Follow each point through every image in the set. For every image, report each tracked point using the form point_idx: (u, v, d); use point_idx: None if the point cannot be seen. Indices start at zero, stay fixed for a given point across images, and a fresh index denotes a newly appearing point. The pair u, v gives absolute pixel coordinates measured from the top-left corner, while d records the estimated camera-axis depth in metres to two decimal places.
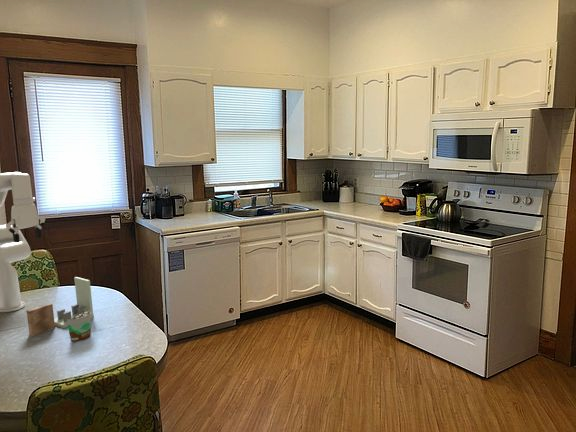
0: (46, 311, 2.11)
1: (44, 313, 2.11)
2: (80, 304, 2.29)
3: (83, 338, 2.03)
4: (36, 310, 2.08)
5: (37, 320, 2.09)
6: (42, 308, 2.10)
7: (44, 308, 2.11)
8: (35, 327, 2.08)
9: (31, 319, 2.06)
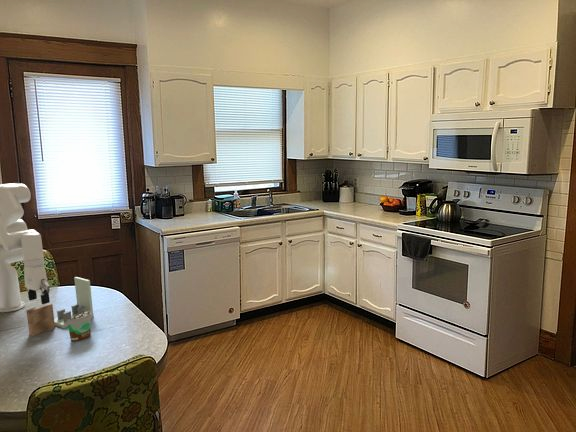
0: (46, 311, 2.11)
1: (44, 313, 2.11)
2: (80, 304, 2.29)
3: (83, 338, 2.03)
4: (36, 310, 2.08)
5: (37, 320, 2.09)
6: (42, 308, 2.10)
7: (44, 308, 2.11)
8: (35, 327, 2.08)
9: (31, 319, 2.06)
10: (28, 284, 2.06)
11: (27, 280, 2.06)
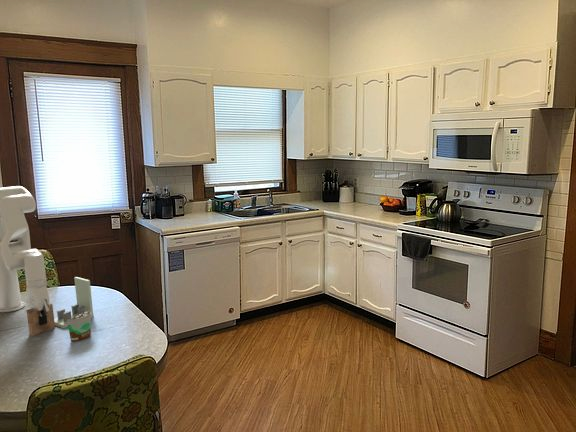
0: None
1: None
2: (80, 304, 2.29)
3: (83, 338, 2.03)
4: (36, 310, 2.08)
5: (38, 320, 2.09)
6: None
7: None
8: (35, 327, 2.08)
9: (31, 319, 2.06)
10: (30, 304, 2.08)
11: (29, 300, 2.08)
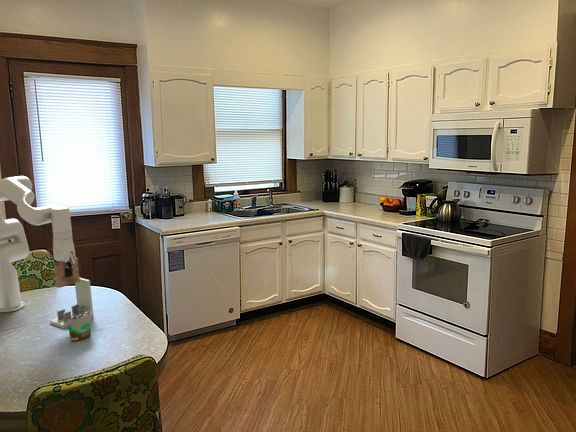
0: None
1: None
2: (80, 304, 2.29)
3: (83, 338, 2.03)
4: (62, 263, 2.16)
5: (64, 273, 2.17)
6: None
7: None
8: (62, 279, 2.16)
9: (58, 271, 2.14)
10: (57, 256, 2.16)
11: (56, 252, 2.16)
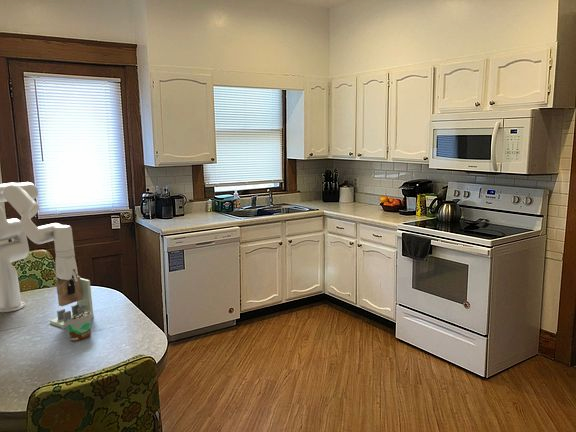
0: None
1: None
2: (80, 304, 2.29)
3: (83, 338, 2.03)
4: (65, 281, 2.17)
5: (66, 291, 2.18)
6: (70, 280, 2.20)
7: None
8: (64, 298, 2.18)
9: (60, 290, 2.16)
10: (59, 274, 2.18)
11: (58, 270, 2.18)
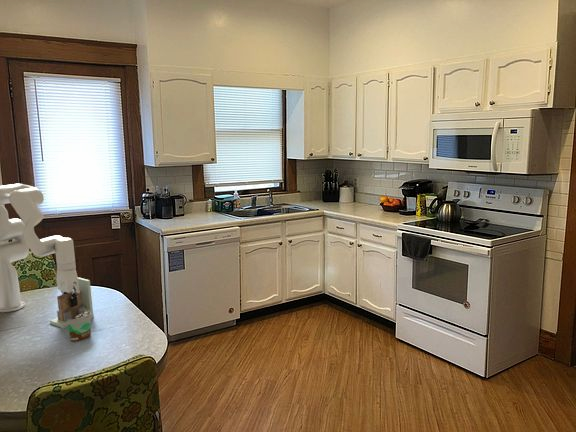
0: None
1: None
2: None
3: (83, 338, 2.03)
4: (66, 296, 2.19)
5: (67, 306, 2.20)
6: None
7: None
8: None
9: (61, 305, 2.17)
10: (60, 286, 2.19)
11: (59, 282, 2.19)
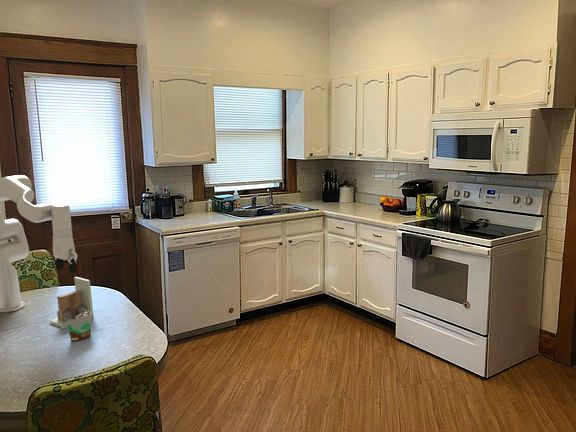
0: (75, 298, 2.23)
1: (74, 299, 2.22)
2: None
3: (83, 338, 2.03)
4: (66, 296, 2.19)
5: (67, 306, 2.20)
6: (72, 295, 2.21)
7: (73, 295, 2.22)
8: None
9: (62, 305, 2.17)
10: (56, 253, 2.16)
11: (55, 249, 2.16)
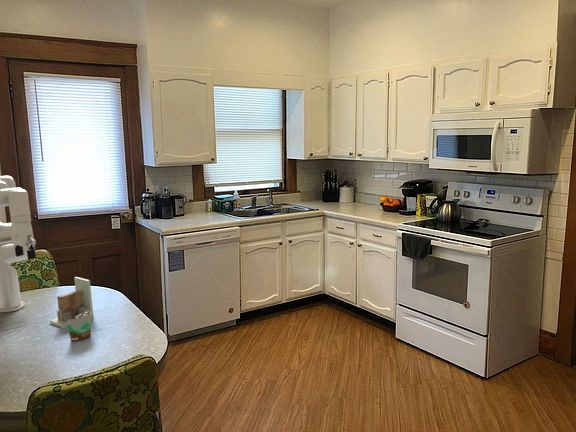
0: (75, 298, 2.23)
1: (74, 299, 2.22)
2: None
3: (83, 338, 2.03)
4: (66, 296, 2.19)
5: (67, 306, 2.20)
6: (72, 295, 2.21)
7: (73, 295, 2.22)
8: None
9: (62, 305, 2.17)
10: (15, 240, 2.12)
11: (14, 236, 2.12)
